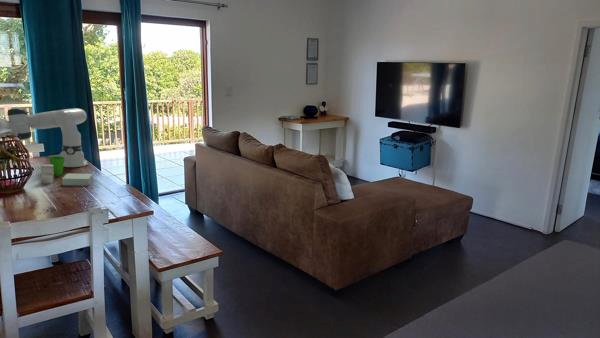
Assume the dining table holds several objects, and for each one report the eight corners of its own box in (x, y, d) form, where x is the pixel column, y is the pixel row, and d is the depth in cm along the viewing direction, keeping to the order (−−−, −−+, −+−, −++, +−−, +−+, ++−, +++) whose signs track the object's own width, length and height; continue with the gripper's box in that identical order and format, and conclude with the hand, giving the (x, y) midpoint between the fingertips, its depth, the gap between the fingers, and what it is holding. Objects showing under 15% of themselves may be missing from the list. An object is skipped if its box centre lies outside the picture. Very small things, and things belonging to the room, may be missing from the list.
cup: (68, 174, 276) (68, 157, 274) (59, 177, 267) (59, 159, 265) (55, 172, 277) (54, 155, 275) (45, 175, 268) (45, 158, 266)
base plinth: (67, 179, 262) (67, 173, 262) (92, 180, 266) (92, 173, 266) (62, 185, 250) (62, 178, 249) (89, 185, 254) (88, 178, 254)
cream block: (44, 181, 256) (43, 164, 254) (53, 181, 257) (53, 164, 255) (41, 183, 251) (41, 166, 249) (51, 183, 253) (51, 166, 251)
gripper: (-6, 135, 254) (21, 138, 257) (-23, 140, 234) (5, 143, 238) (-5, 125, 253) (21, 127, 256) (-23, 129, 233) (6, 132, 236)
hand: (13, 135), depth 247 cm, fingers open, 8 cm apart
